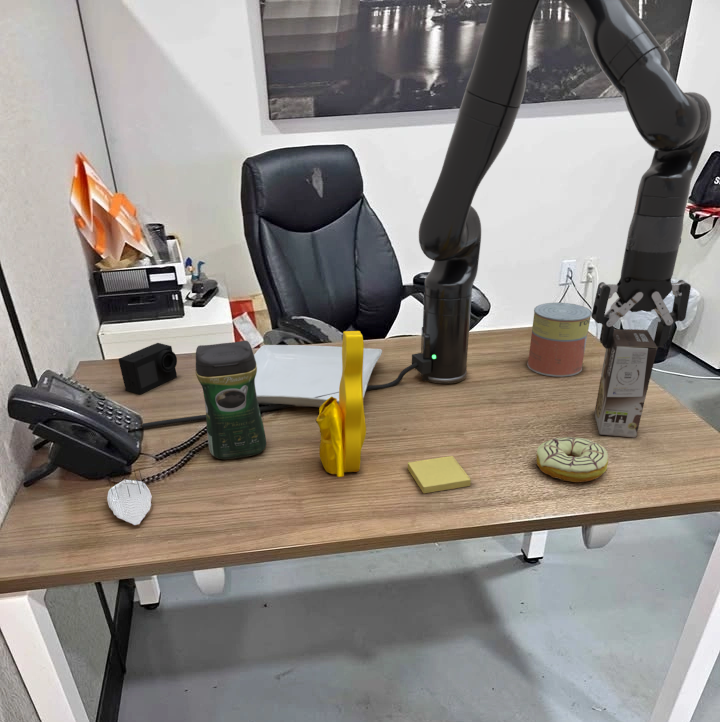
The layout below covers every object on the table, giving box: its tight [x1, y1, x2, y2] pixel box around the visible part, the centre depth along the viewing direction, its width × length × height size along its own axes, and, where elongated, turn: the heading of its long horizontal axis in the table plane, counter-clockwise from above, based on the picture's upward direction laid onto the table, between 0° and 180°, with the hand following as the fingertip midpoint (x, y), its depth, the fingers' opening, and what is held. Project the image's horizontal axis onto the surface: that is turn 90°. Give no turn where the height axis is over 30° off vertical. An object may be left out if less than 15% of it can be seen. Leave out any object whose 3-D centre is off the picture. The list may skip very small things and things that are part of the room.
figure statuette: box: [315, 330, 367, 478], centre depth 100 cm, size 18×8×22 cm, turn 11°
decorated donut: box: [535, 436, 609, 483], centre depth 102 cm, size 10×11×4 cm
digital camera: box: [118, 342, 178, 395], centre depth 133 cm, size 10×5×7 cm, turn 148°
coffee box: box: [594, 328, 659, 438], centre depth 111 cm, size 9×6×16 cm
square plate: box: [253, 344, 383, 408], centre depth 132 cm, size 27×27×4 cm
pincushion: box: [106, 469, 153, 526], centre depth 95 cm, size 12×6×6 cm, turn 25°
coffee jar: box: [195, 340, 267, 460], centre depth 106 cm, size 10×8×19 cm
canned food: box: [526, 302, 592, 378], centre depth 135 cm, size 11×11×12 cm
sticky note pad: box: [407, 455, 472, 494], centre depth 101 cm, size 8×8×1 cm
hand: (631, 346), depth 108 cm, fingers open, 8 cm apart
